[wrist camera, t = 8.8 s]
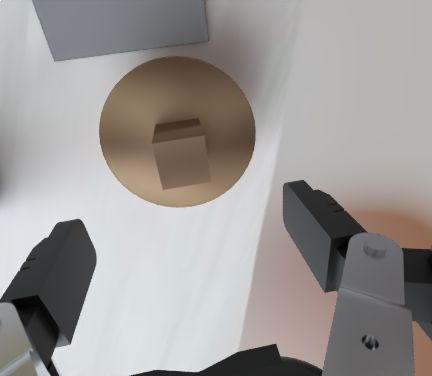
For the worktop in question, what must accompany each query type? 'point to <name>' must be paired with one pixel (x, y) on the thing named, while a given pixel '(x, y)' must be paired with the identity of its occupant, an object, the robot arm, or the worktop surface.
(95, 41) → the felt pad
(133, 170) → the lid
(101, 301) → the worktop surface
